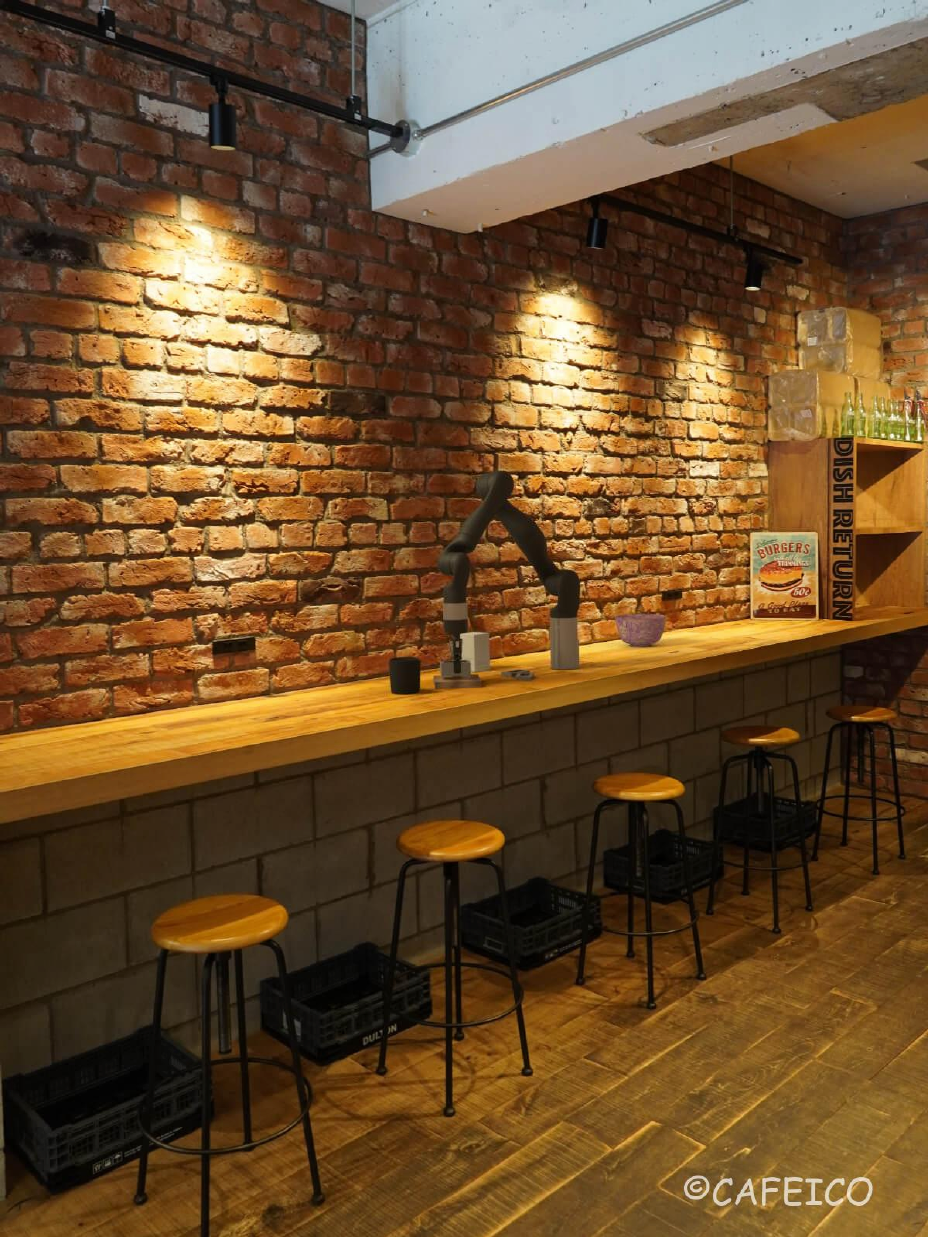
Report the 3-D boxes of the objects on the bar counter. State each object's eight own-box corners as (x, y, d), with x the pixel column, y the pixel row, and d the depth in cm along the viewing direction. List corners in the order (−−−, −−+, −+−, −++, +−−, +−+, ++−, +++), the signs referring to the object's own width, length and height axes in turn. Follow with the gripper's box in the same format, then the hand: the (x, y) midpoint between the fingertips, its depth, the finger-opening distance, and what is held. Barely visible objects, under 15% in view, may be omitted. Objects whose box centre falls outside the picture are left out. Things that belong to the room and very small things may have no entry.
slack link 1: (519, 672, 344) (519, 669, 343) (529, 674, 340) (529, 670, 340) (501, 675, 339) (501, 671, 338) (511, 677, 335) (511, 673, 335)
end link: (469, 672, 325) (468, 659, 325) (471, 675, 319) (470, 662, 319) (440, 673, 324) (439, 660, 324) (441, 676, 318) (441, 663, 318)
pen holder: (427, 691, 311) (426, 657, 310) (408, 695, 303) (407, 661, 303) (402, 688, 316) (401, 656, 316) (383, 693, 309) (382, 660, 308)
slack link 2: (518, 676, 336) (518, 672, 336) (534, 676, 335) (534, 672, 335) (515, 680, 328) (515, 676, 328) (530, 680, 327) (530, 676, 327)
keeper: (477, 680, 329) (477, 661, 329) (481, 687, 315) (481, 667, 315) (433, 682, 328) (433, 663, 328) (435, 688, 315) (434, 669, 314)
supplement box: (490, 670, 352) (489, 632, 351) (474, 672, 347) (473, 634, 346) (476, 668, 357) (475, 631, 356) (459, 670, 353) (458, 633, 351)
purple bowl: (611, 648, 402) (610, 618, 401) (619, 642, 421) (618, 614, 420) (663, 649, 396) (663, 619, 395) (669, 643, 415) (669, 614, 414)
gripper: (469, 619, 313) (470, 674, 315) (466, 615, 327) (467, 668, 329) (444, 620, 313) (445, 675, 314) (442, 615, 327) (443, 669, 329)
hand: (456, 671), depth 322 cm, fingers closed on end link, 6 cm apart
